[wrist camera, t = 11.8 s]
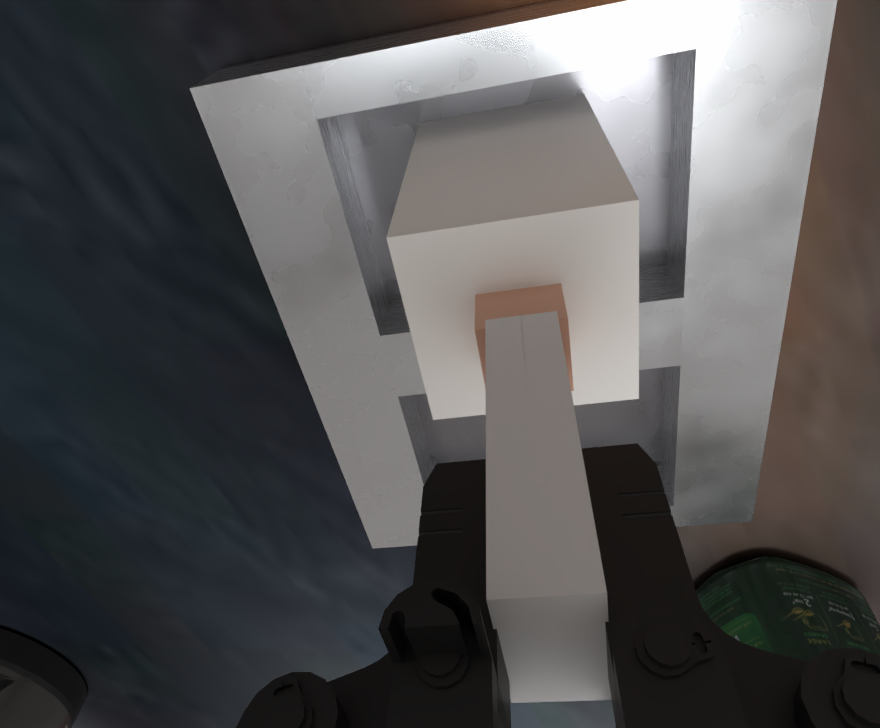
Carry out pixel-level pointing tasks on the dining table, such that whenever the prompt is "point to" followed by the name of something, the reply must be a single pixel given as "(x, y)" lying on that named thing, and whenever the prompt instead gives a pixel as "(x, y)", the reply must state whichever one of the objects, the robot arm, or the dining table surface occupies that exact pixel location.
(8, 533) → the dining table surface
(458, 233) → the white rectangular block
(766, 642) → the coffee jar
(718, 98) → the socket plate
